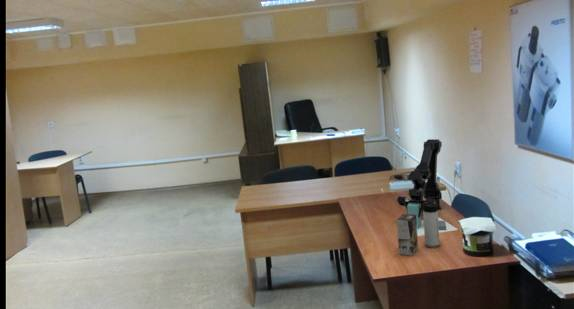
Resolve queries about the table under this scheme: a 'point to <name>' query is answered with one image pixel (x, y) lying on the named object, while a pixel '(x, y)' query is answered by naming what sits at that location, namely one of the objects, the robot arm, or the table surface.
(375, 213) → the table surface
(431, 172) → the robot arm
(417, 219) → the teal pillar block
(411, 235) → the coffee box
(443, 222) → the snap base
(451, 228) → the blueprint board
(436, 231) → the travel mug
